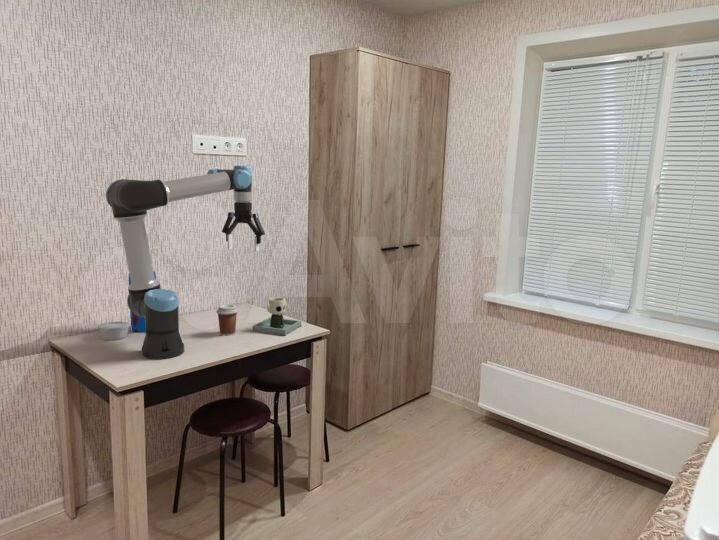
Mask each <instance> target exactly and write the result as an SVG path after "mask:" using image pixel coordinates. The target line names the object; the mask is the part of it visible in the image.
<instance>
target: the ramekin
mask: <svg viewBox="0 0 719 540" xmlns="http://www.w3.org/2000/svg"><path fill="white" fill-rule="evenodd" d="M129 327H130V325H129V323H128V322H125V321H109V322H104V323H102V324H99V325H98V329H99V332H100V333H99V334H100V337H101V338H102V340H105V341H119V340H122V339H125V338H126V337H127V336H128V333H129Z"/></svg>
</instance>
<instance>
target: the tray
mask: <svg viewBox="0 0 719 540" xmlns="http://www.w3.org/2000/svg"><path fill="white" fill-rule="evenodd" d="M283 320H284V327H282V326H281V328H273V327H271V326H270V322H271V316H270V317H268V318H266V319H265V318H264V319H263V320H262V321H260V322H257V323H255V324H253V325H251V326H252V327H251V328H252V332H255V333H261V334H262V333H264V334H269V335H276V336H277V335H278V336H285V337H286V336H287V335H289V334H291V333H292V332H294V331H297V330H298V329H299V328H301V327H302V320H298V319H297V320H296V319H287V318H283ZM297 328H298V329H297Z"/></svg>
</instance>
